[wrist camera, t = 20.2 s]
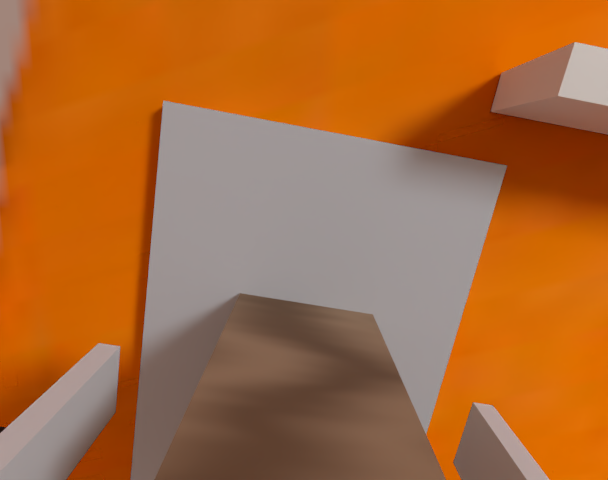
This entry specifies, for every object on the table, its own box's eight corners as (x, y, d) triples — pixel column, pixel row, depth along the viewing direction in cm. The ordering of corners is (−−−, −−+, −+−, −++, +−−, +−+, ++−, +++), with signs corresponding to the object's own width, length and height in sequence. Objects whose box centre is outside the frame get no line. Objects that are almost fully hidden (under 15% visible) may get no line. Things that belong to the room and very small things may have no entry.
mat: (390, 532, 20) (393, 543, 19) (133, 496, 19) (128, 506, 19) (499, 165, 15) (507, 165, 15) (168, 102, 15) (163, 100, 14)
